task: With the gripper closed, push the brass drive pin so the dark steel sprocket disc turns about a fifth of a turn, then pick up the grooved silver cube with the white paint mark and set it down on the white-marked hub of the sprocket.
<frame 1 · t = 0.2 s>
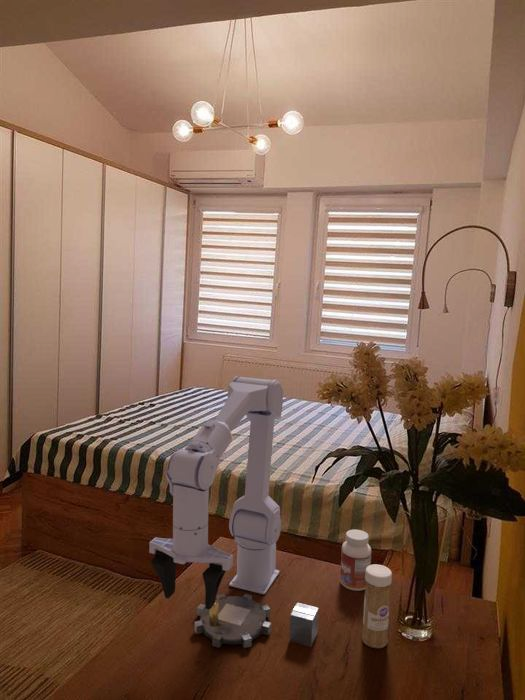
hand: (189, 600, 88), 10 cm above the table, tool pointing down, fingers open, 7 cm apart
sprinkles bottle: (374, 642, 94), on the table
pill bottle: (354, 584, 112), on the table
sprocket: (233, 608, 97), point 3 cm above the table, hinge at 0.0°
grooved silver cube: (303, 637, 95), on the table
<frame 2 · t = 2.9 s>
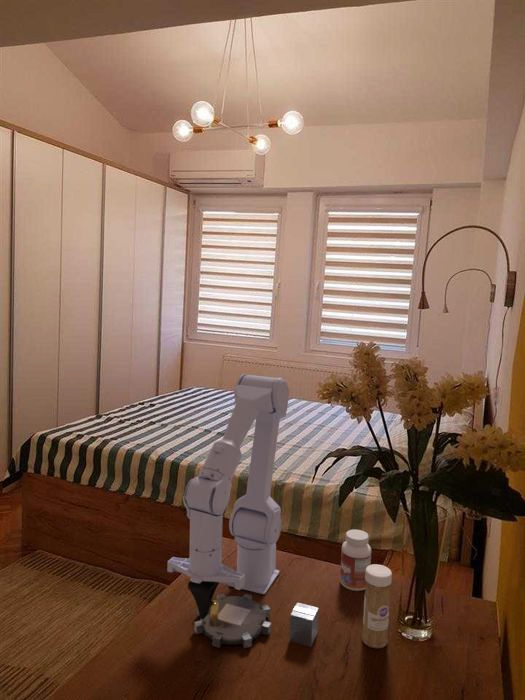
hand: (204, 616, 95), 3 cm above the table, tool pointing down, fingers closed, pressing on sprocket
sprocket: (233, 608, 97), point 3 cm above the table, hinge at 0.1°, touching gripper
everything else where it was.
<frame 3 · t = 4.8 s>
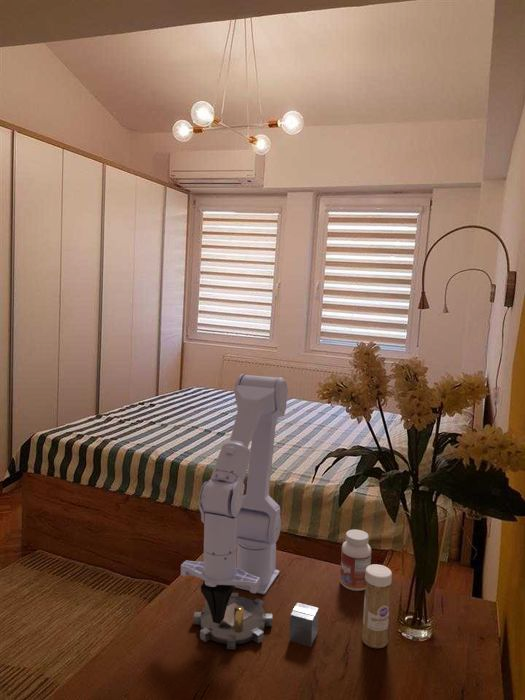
hand: (218, 619, 94), 3 cm above the table, tool pointing down, fingers closed
sprocket: (233, 608, 97), point 3 cm above the table, hinge at 66.7°
everything else where it was.
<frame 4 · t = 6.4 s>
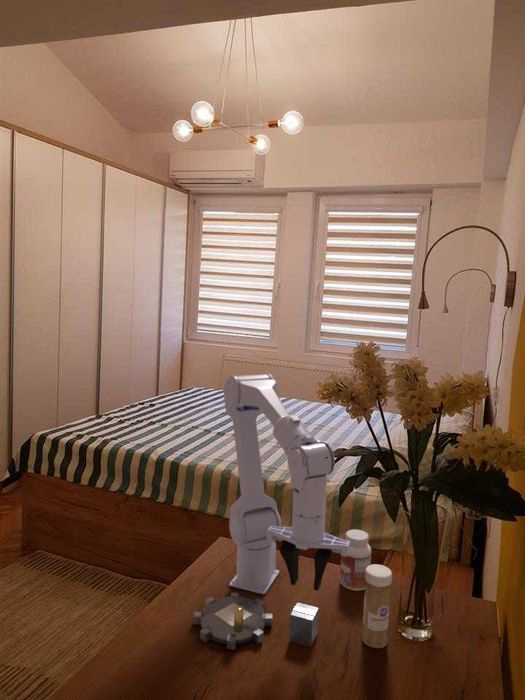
hand: (305, 584, 93), 10 cm above the table, tool pointing down, fingers open, 4 cm apart
nothing on the table moved.
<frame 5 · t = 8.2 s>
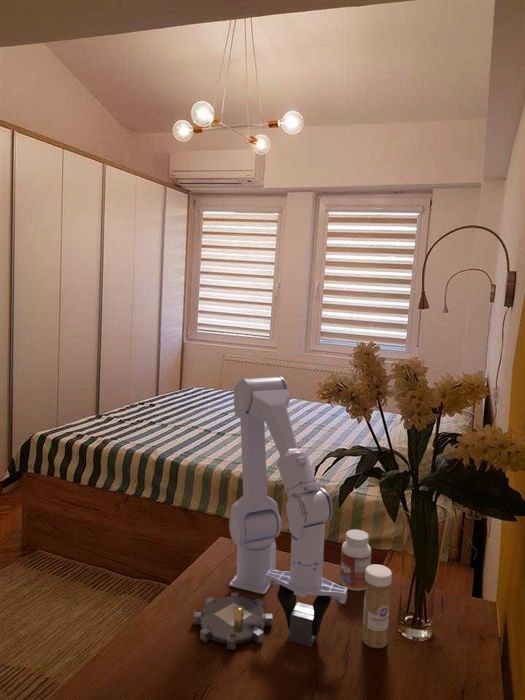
hand: (303, 629, 94), 1 cm above the table, tool pointing down, fingers closed on grooved silver cube, 4 cm apart
grooved silver cube: (303, 636, 95), on the table, touching gripper
everything else where it was.
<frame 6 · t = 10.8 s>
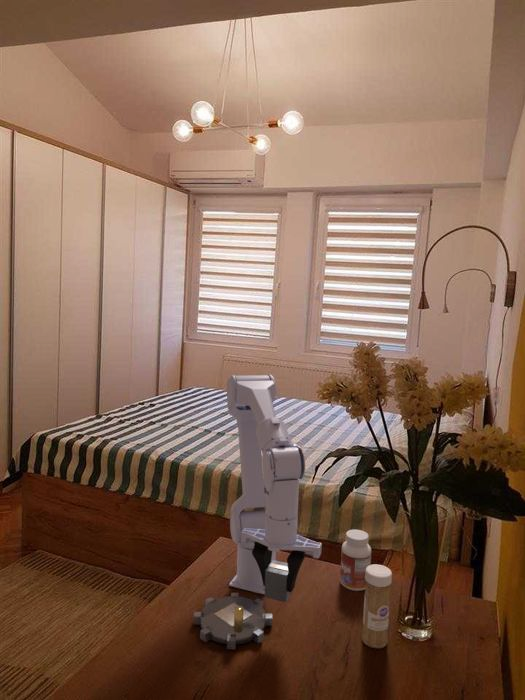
hand: (278, 586, 95), 9 cm above the table, tool pointing down, fingers closed on grooved silver cube, 4 cm apart
grooved silver cube: (278, 593, 95), point 7 cm above the table, touching gripper
everything else where it was.
when the fingers open (5 cm above the table, at t = 13.0 s): grooved silver cube stays where it is, resting on sprocket.
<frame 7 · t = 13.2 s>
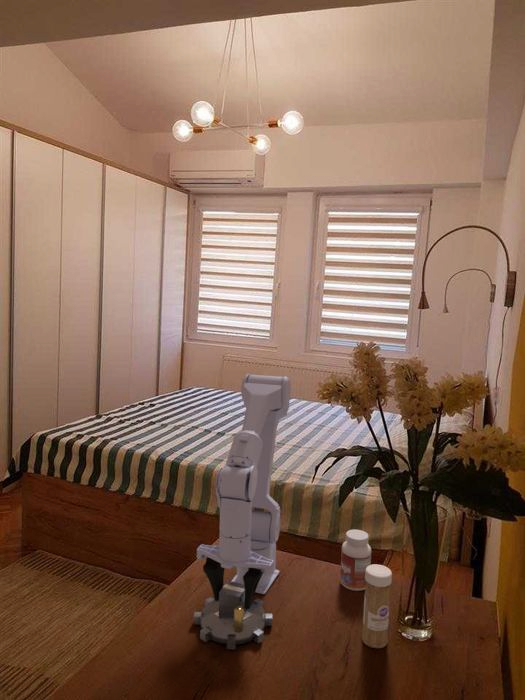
hand: (233, 601, 97), 5 cm above the table, tool pointing down, fingers open, 5 cm apart
sprocket: (233, 608, 97), point 3 cm above the table, hinge at 66.7°, touching grooved silver cube
grooved silver cube: (233, 614, 97), point 2 cm above the table, touching sprocket
everything else where it was.
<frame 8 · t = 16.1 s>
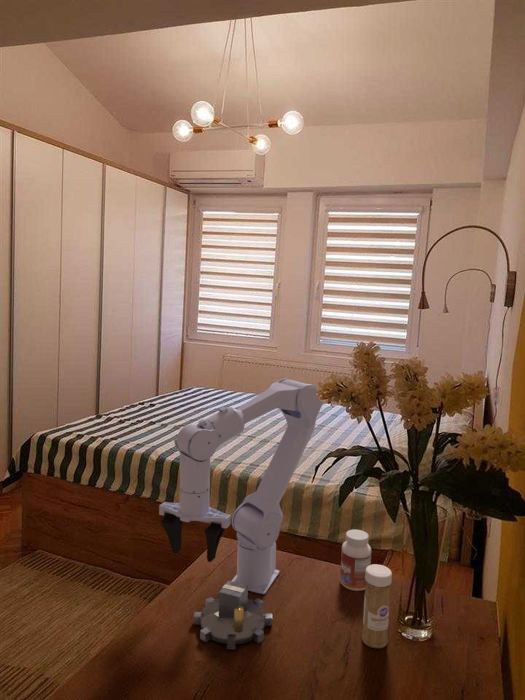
hand: (193, 555, 102), 10 cm above the table, tool pointing down, fingers open, 7 cm apart
nothing on the table moved.
at the end: sprocket at +67° (first picture: +0°); grooved silver cube 0.1 cm off-centre on the sprocket, point 2.1 cm above the sprocket's base; grooved silver cube tilted 0° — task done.
